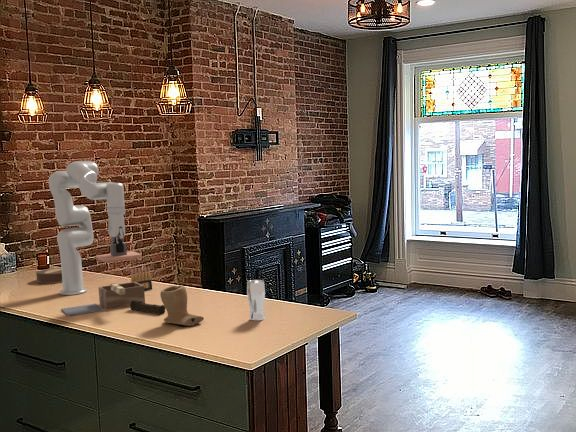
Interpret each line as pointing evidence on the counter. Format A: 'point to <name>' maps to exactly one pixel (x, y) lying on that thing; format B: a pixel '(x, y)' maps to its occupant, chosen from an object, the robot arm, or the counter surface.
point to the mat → (82, 309)
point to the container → (49, 276)
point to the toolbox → (115, 300)
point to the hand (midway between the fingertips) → (118, 251)
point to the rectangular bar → (117, 289)
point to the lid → (118, 255)
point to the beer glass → (256, 299)
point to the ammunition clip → (142, 278)
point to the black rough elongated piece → (147, 307)
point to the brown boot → (178, 306)
